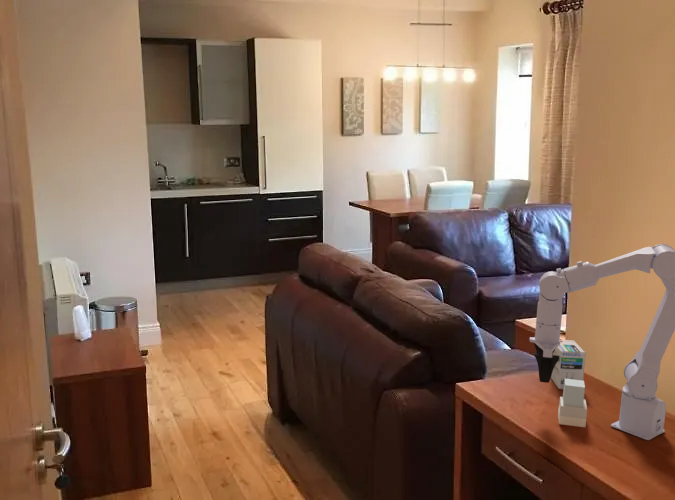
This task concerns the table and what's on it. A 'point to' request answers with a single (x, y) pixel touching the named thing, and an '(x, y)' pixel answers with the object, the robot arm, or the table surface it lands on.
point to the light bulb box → (568, 363)
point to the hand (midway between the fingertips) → (543, 376)
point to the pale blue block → (573, 392)
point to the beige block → (573, 410)
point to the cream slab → (571, 420)
